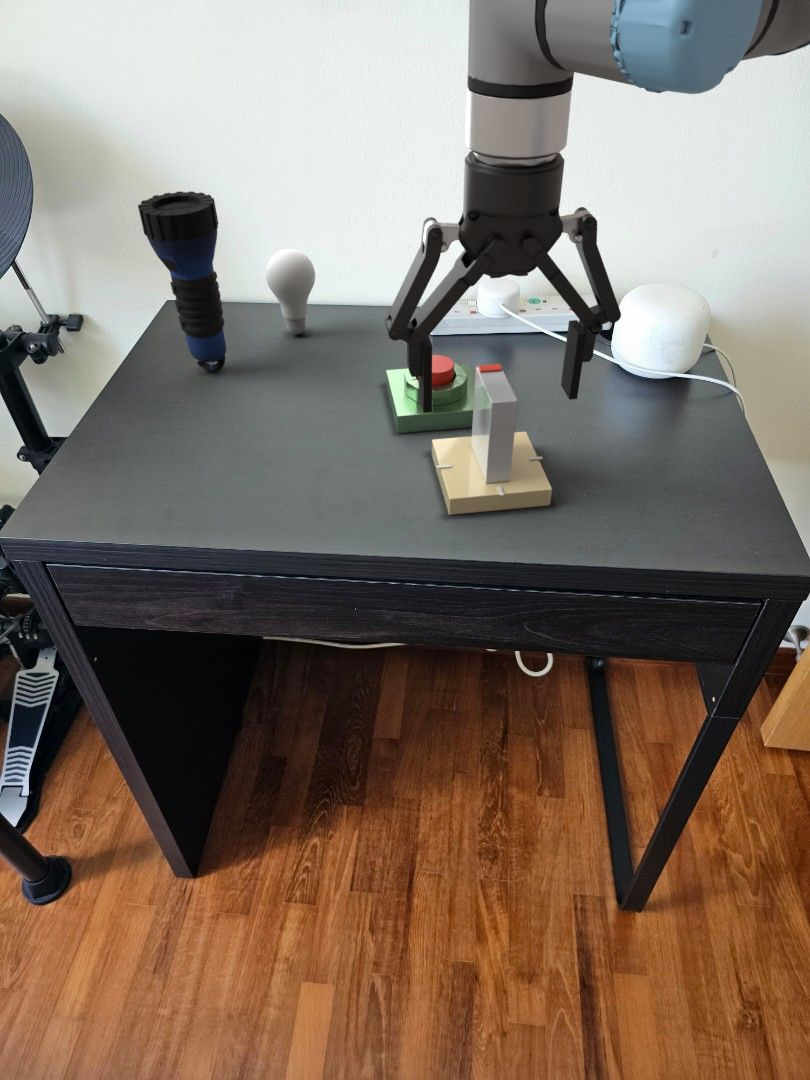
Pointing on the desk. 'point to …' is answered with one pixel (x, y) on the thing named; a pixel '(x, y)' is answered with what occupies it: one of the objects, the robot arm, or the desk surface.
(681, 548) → the desk surface
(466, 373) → the control block
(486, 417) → the tap handle
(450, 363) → the stop button
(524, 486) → the panel
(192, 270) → the flashlight
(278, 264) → the lightbulb
